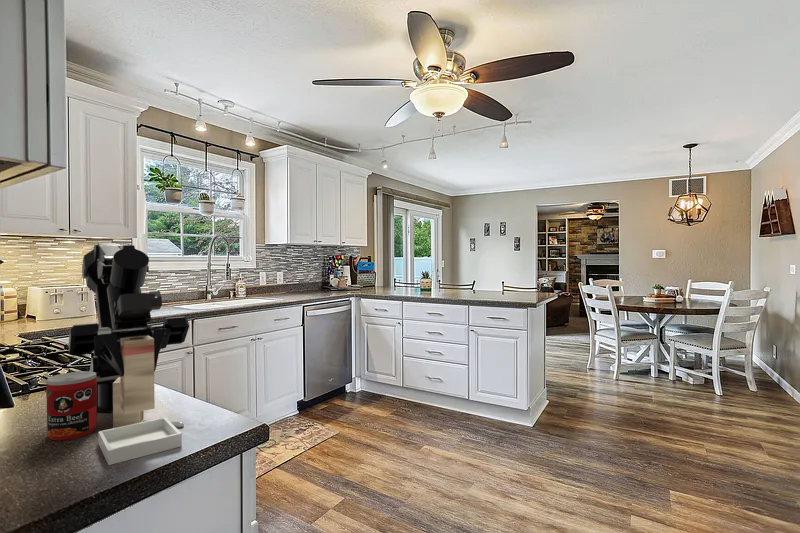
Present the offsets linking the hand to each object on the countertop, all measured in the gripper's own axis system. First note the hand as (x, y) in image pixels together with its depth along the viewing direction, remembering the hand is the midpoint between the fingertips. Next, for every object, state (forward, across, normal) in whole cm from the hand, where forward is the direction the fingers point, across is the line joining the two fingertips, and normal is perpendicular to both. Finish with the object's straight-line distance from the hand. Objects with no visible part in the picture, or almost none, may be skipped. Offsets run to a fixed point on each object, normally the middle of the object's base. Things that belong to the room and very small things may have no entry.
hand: (138, 372), depth 77 cm
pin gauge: (+3, +6, +16) cm, 17 cm away
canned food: (-2, -8, +21) cm, 23 cm away
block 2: (-1, +1, +20) cm, 21 cm away
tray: (+9, 0, +10) cm, 13 cm away
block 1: (+4, 0, +6) cm, 7 cm away
